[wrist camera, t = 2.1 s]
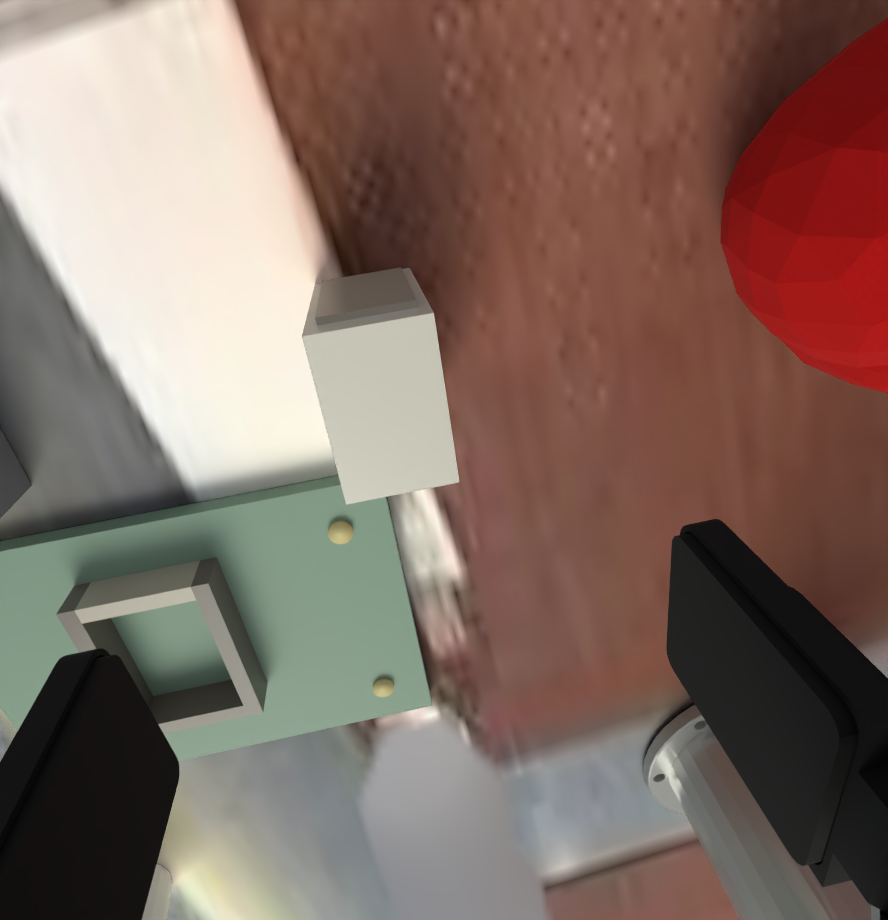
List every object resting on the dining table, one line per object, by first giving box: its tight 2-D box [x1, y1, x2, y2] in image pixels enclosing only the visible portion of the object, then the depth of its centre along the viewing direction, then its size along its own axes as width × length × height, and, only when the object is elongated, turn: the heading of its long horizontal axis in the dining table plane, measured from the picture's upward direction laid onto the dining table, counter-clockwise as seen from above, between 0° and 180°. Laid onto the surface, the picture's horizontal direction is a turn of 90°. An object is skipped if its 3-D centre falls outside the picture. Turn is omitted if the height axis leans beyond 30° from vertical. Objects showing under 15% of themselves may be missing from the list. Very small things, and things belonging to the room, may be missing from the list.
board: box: [0, 476, 432, 761], centre depth 32 cm, size 22×16×1 cm
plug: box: [302, 267, 459, 505], centre depth 23 cm, size 4×6×8 cm, turn 8°
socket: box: [56, 557, 268, 734], centre depth 30 cm, size 7×9×2 cm
